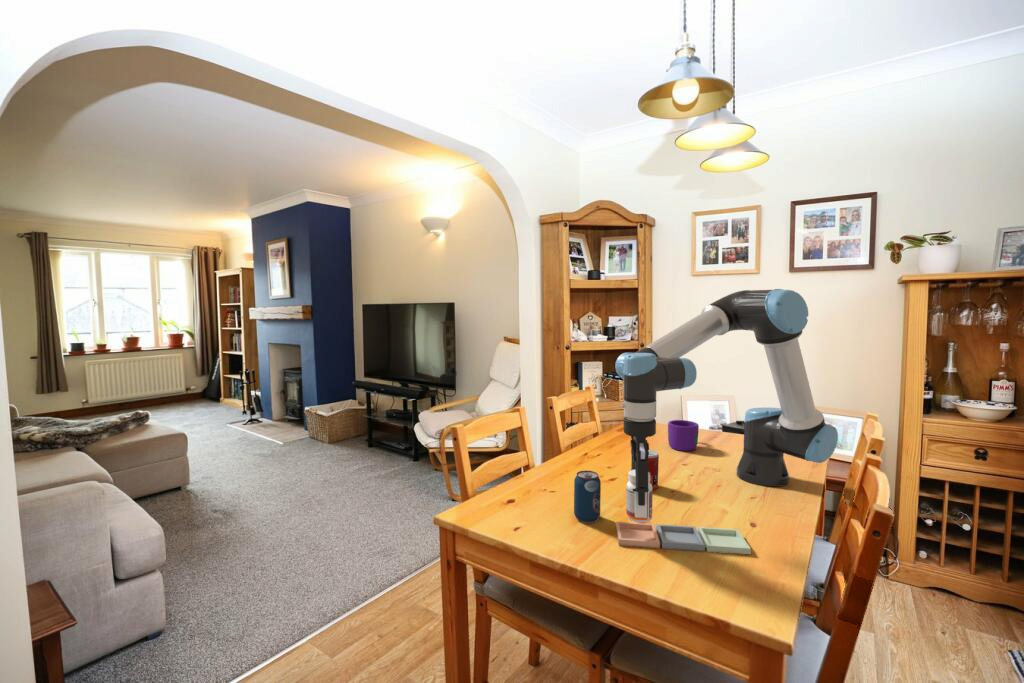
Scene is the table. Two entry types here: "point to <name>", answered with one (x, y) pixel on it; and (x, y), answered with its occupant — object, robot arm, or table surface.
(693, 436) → the mug
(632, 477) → the pill bottle
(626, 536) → the dish terracotta
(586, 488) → the soda can
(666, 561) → the table surface
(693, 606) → the table surface
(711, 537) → the dish sage
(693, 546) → the dish slate
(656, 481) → the canned food
